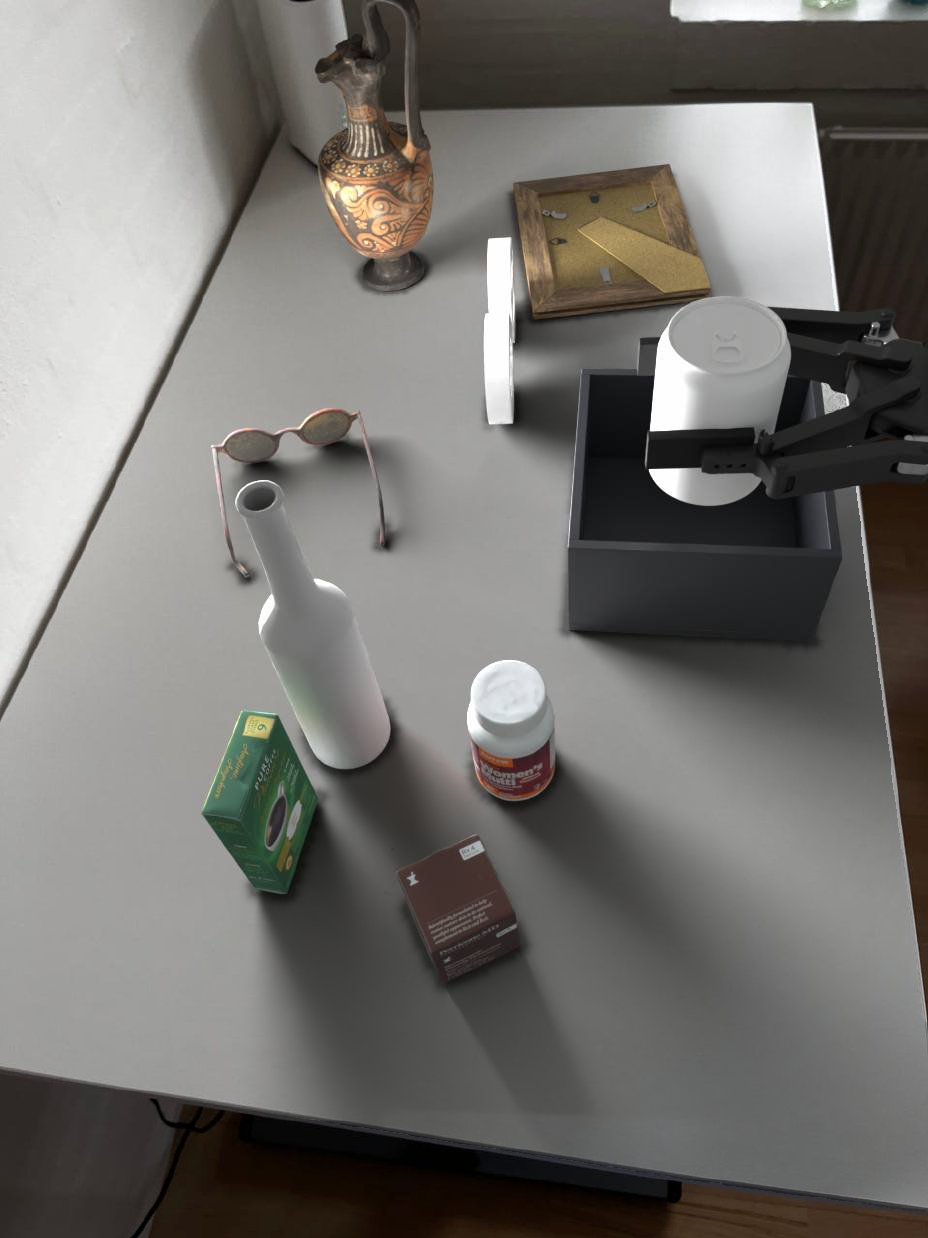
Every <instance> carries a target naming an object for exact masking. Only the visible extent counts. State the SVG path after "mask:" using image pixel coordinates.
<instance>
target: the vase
mask: <svg viewBox="0 0 928 1238" xmlns="http://www.w3.org/2000/svg"><path fill="white" fill-rule="evenodd" d="M377 3H386V4H388V5H393V6H395V7H397V8H398V9H399V11H401V12H402V14H403V17H404V21H405V29H406V30H405V52H404V108H405V109H404V111H405V122H406V124H403V123H401V122H397V121H396V122H395V121H389V120H387V116H386V114H385V109H384V106H383V101H382V96H381V87H382V81H383V77H384V75H386V71H387V59H388V57H389V55H390V54H391V41H390V35H389V34H388V31H387V30H386V29H385V27H384V24H383V21H382V17H381V14H380V11H379V8H378V5H377ZM360 13H361V17H362V21H363V25H364V27H365V32H364V34H363V35H362V34H360V33H354V34H352V35H350V36H349V37H348V38H347V39H343V40H341V41H339V42H338V43H337V44H335V46H334V48H335V50H334V51H333V52H331V53H330V54H329V55H328V56H326V57H321V58H319V59H318V61H317V63H316V65H315V67H314V72H315V74H316V79H317V80H318V82H319V83H320V84H327V83H330V82H331V83H333V84H334V86H336V87H337V89H338V90H339V91H340V93H341V95H342V98H343V100H344V103H345V109H346V116H347V127H346V128H344V129H343V130H341V131H339V132H337V133H336V134H334V135H333V136H331V138H329V139H328V140H327V141H326V143H324V145H323V147H322V148H321V150H320V152H319V154H318V160H317V172H318V179H319V184H320V190H321V192H322V195H323V199H324V201H325V204H326V205H325V206H326V207H327V210H328V212H329V215H330V217H331V219H332V220H333V222H334V224H335V226H336V228H337V230H338V231H339V233H340V234H341V236H342V237H343V238H344V240H345V241H346V243H347V244H348V245H349V246H350V248H352V250H354V251H356V252H357V253H359V254H360V255H362V256H364V257H367V258H370V259H368V261H367V262H366V263H365V264H364V265H363V268H362V275H361V276H362V280H363V282H364V284H365V285H366V286H367V287H368V288H370V289H373V290H375V291H380V292H393V291H399V290H404V289H406V288H409V287H411V286H413V285H415V284H416V283H418V282H419V281H420V280H421V279H422V278H423V276H424V273H425V270H426V269H425V264H424V261H423V260H422V259H421V258H420V257H419V256H418V255H417V254H416V252H413V251H411V250H412V249H414V248H415V247H416V246H417V245H418V244H419V243H420V242H421V239H422V238H423V237H424V235H425V233H426V231H427V229H428V225H429V224H430V219H431V215H432V210H433V203H434V190H435V189H434V185H435V183H434V181H435V180H434V169H433V162H432V157H431V153H430V151H431V150H432V146H431V143H430V140H429V136H428V135H427V134H426V133H425V130H424V127H423V123H422V116H421V105H420V101H421V100H420V53H421V52H420V50H421V15H420V10H419V8H418V4H417V2H416V0H362V3H361V8H360Z"/></svg>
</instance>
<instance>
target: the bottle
mask: <svg viewBox="0 0 928 1238" xmlns="http://www.w3.org/2000/svg"><path fill="white" fill-rule="evenodd" d="M284 499H285V497H284V491H283V489H282V488H281V486H280V485H279V484H277V483H276V482H273V481H270V480H257V481H252V482H250V483H248V484H246V485H245V486H244V487H242V488H241V489H240V491H239V492H238V493H237V495H236V498H235V500H234V501H235V509H236V510H237V512H238V513H239V514H240V515H241V516H242V518H243V521H244V523H245V525H246V528H247V530H248V533H249V536H250V538H251V540H252V543H253V545H254V549H255V550H256V552H257V555H258V557H259V560H260V562H261V565H262V568H263V571H264V573H265V577H266V580H267V584H268V586H269V589H270V593H271V594H270V596H269V597H268V599H267V600H266V602H265V603H264V605H263V607H262V609H261V613H260V617H259V620H258V631H259V632H258V633H259V638H260V639H261V642H262V643H263V646H264V648H265V650H266V653H267V654H268V657H269V659H270V661H271V663H272V666H273V668H274V670H275V673H276V675H277V677H278V679H279V681H280V683H281V686H282V688H283V691H284V692H285V695H286V697H287V699H288V702H289V704H290V705H291V708H292V710H293V713H294V714H295V716H296V719H297V721H298V723H299V726H300V728H301V730H302V732H303V734H304V736H305V739H306V741H307V742H308V744H309V746H310V748H311V750H312V753H313V755H314V756H315V758H317V759H318V760H319V761H320V762H322V763H323V764H324V765H326V766H327V767H328V766H329V767H330V768H335V769H338V770H352V769H353V770H354V769H356V768H361V767H363V766H366V765H368V764H369V763H371V762H372V761H374V760H375V759H376V758H377V757H378V756H380V755H381V753H382V752H383V751H384V750H385V748H386V747H387V744H388V742H389V740H390V736H391V731H392V729H391V728H392V727H391V721H390V716H389V714H388V711H387V708H386V704H385V701H384V697H383V694H382V692H381V689H380V686H379V682H378V680H377V677H376V673H375V671H374V667H373V665H372V661H371V658H370V655H369V652H368V650H367V646H366V644H365V641H364V638H363V635H362V632H361V628H360V626H359V622H358V620H357V617H356V614H355V611H354V608H353V605H352V603H351V601H350V600H349V598H348V595H346V593H345V592H344V591H343V590H341V589H340V588H339V587H338V586H336V585H335V584H333V583H331V582H328V581H325V580H322V579H319V578H314V577H313V574H312V572H311V570H310V568H309V566H308V563H307V562H306V560H305V557H304V555H303V553H302V551H301V548H300V545H299V542H298V540H297V537H296V535H295V532H294V529H293V527H292V524H291V522H290V519H289V516H288V514H287V511H286V509H285V506H284V503H283V502H284Z"/></svg>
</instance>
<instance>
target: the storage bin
mask: <svg viewBox="0 0 928 1238" xmlns="http://www.w3.org/2000/svg"><path fill="white" fill-rule="evenodd" d="M579 384H580V385H579V394H578V395H579V396H578V407H577V408H578V411H577V422H576V433H575V434H576V435H575V447H574V462H573V474H572V484H571V485H572V486H571V501H570V511H569V512H570V513H569V525H568V538H567V539H568V540H567V630H569V631H586V632H606V633H623V634H625V633H626V634H627V633H628V634H630V633H631V634H644V635H645V634H647V635H667V636H670V635H671V636H686V637H688V636H689V637H708V638H727V639H729V638H730V639H747V640H748V639H750V640H769V641H770V640H771V641H788V642H789V641H790V642H791V641H792V642H810V643H811V642H813V640H814V637H815V634H816V632H817V629H818V626H819V624H820V621H821V618H822V615H823V613H824V610H825V608H826V605H827V602H828V600H829V597H830V594H831V591H832V588H833V585H834V583H835V580H836V577H837V575H838V572H839V569H840V566H841V564H842V561H843V558H844V557H843V550H842V540H841V533H840V525H839V515H838V509H837V501H836V500H837V499H836V490H831V491H825V492H819V493H813V494H807V495H801V496H795V497H789V498H783V499H773V498H770V497H769V496H768V495H767V494H766V488H767V487H766V485H765V484H764V482H763V481H762V480H761V482H760V483H759V485H758V486H757V487H756V488H755V489H754V490H753V491H752V492H751V493H750V494H748V495H747V496H745V497H743V498H741V499H739V500H737V501H735V502H732V503H728V504H723V505H716V506H703V505H695V504H690V503H687V502H684V501H681V500H678V499H676V498H674V497H672V496H671V495H669V494H667V493H666V492H665V491H663V490H662V489H661V488H660V487H659V486H658V485H657V483H656V482H655V481H654V479H653V478H652V476H651V474H650V471H649V470H646V466H645V457H646V445H647V434H648V431H650V429H651V418H652V407H653V396H654V384H655V375H649V376H638V374H637V368H590V367H589V368H588V367H587V368H586V367H585V368H581V369H580V381H579ZM822 385H823V383H822V382H817V381H813V380H809V379H805V378H801V377H797V376H792V375H788V374H787V378H786V383H785V387H784V391H783V395H782V400H781V404H780V408H779V413H778V417H777V421H776V425H775V430H774V433H776V432H779V431H782V430H784V429H787V428H790V427H792V426H795V425H798V424H801V423H803V422H806V421H809V420H811V419H814V418H817V417H820V416H822V415H825V414H826V409H825V400H824V392H823V386H822ZM791 477H794V476H791Z"/></svg>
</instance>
